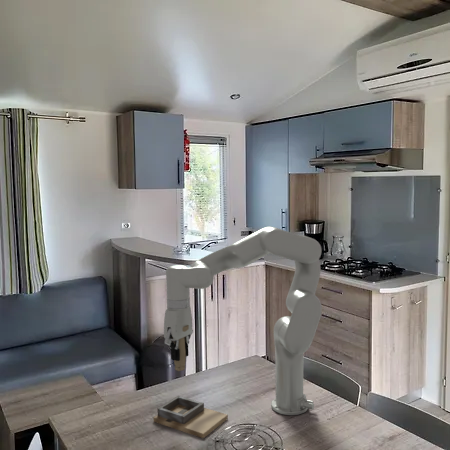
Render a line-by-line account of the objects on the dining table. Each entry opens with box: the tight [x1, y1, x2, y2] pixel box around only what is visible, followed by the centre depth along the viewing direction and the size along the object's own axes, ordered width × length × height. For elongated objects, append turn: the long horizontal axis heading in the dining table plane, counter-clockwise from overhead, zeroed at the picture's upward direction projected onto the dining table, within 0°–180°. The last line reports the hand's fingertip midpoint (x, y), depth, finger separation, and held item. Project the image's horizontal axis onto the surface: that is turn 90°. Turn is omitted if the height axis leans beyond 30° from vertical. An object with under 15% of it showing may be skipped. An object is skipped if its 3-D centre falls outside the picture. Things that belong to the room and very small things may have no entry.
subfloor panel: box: [152, 395, 229, 439], centre depth 154 cm, size 20×14×4 cm
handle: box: [173, 325, 189, 372], centre depth 155 cm, size 5×6×15 cm
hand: (179, 357), depth 155 cm, fingers closed on handle, 3 cm apart
